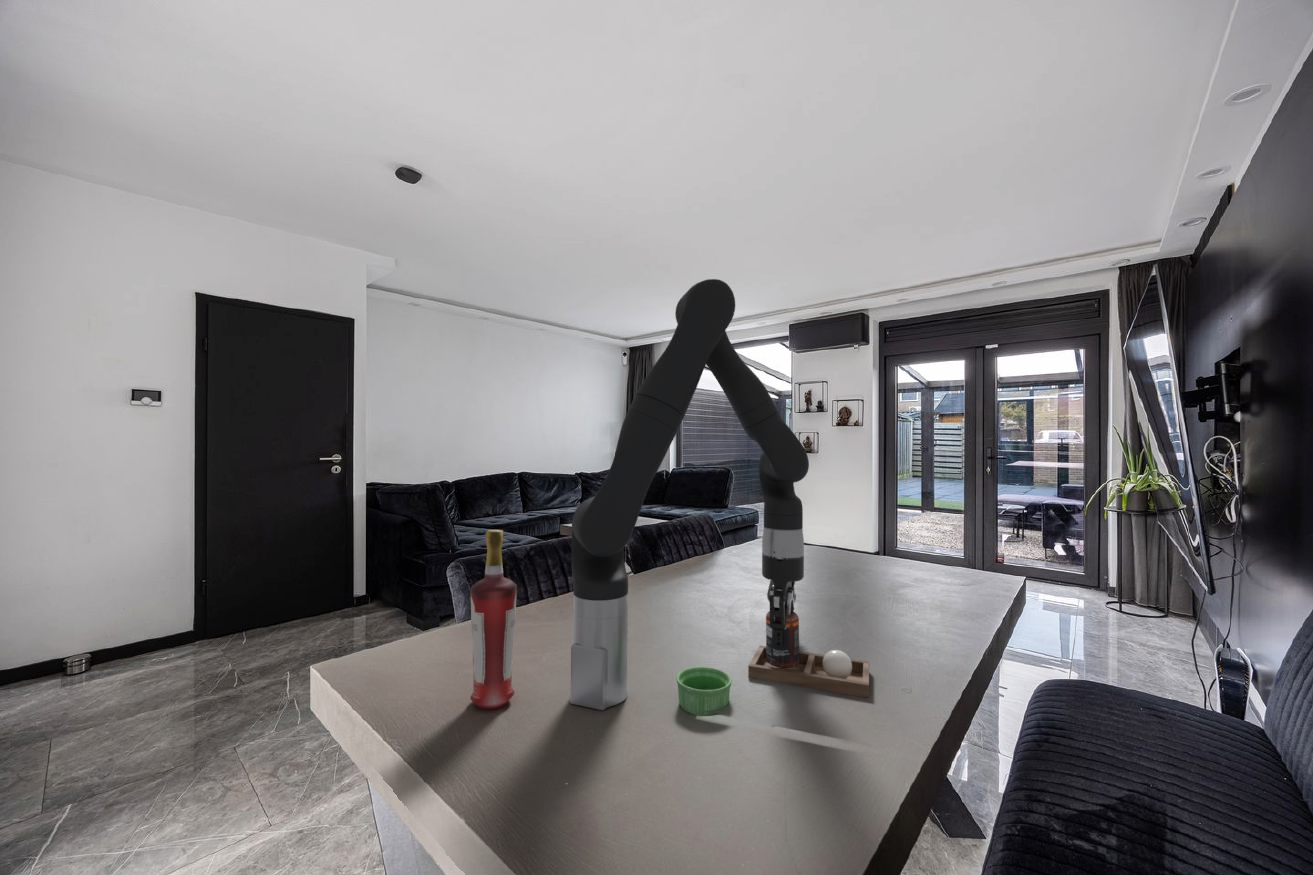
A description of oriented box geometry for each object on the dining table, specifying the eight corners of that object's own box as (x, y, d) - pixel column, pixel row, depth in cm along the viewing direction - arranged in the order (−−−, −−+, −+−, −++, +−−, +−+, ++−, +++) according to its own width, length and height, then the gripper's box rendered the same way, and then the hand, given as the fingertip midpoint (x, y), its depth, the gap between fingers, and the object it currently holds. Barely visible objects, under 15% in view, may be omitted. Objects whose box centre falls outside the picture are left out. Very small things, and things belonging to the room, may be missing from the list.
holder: (868, 703, 88) (868, 685, 88) (748, 682, 95) (748, 665, 95) (869, 677, 97) (869, 661, 97) (759, 660, 105) (759, 645, 105)
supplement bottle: (796, 657, 101) (796, 597, 101) (801, 670, 95) (802, 606, 95) (764, 655, 101) (764, 596, 101) (767, 668, 95) (768, 605, 96)
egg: (851, 687, 91) (851, 658, 91) (821, 682, 93) (821, 653, 93) (852, 675, 96) (852, 647, 96) (823, 671, 98) (823, 643, 98)
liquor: (468, 696, 89) (470, 528, 90) (513, 689, 92) (515, 526, 92) (469, 717, 82) (471, 535, 83) (518, 709, 85) (519, 533, 85)
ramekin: (686, 722, 81) (686, 693, 82) (669, 695, 90) (669, 669, 90) (740, 714, 84) (740, 686, 84) (718, 689, 93) (719, 664, 93)
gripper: (769, 543, 106) (768, 628, 106) (754, 557, 93) (754, 654, 93) (808, 546, 104) (807, 633, 103) (798, 561, 90) (798, 661, 90)
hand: (782, 643), depth 98 cm, fingers closed on supplement bottle, 6 cm apart
